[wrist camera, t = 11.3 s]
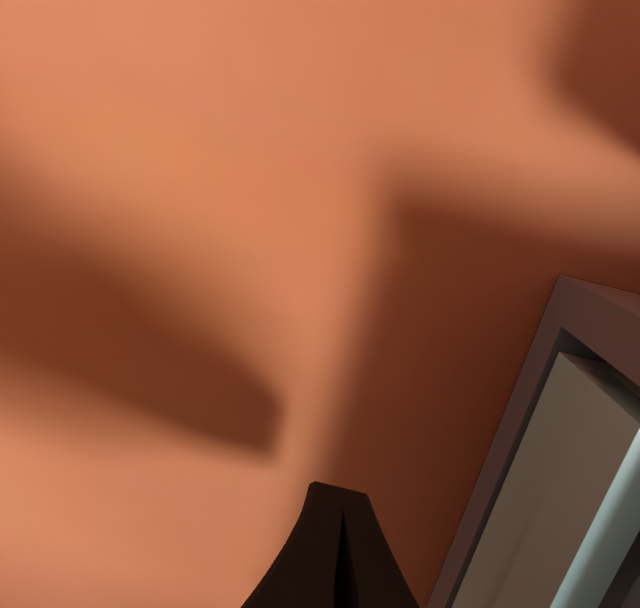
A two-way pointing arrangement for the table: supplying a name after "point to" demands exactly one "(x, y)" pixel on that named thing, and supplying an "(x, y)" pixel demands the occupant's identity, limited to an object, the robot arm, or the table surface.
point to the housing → (551, 338)
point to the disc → (623, 577)
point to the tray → (564, 496)
